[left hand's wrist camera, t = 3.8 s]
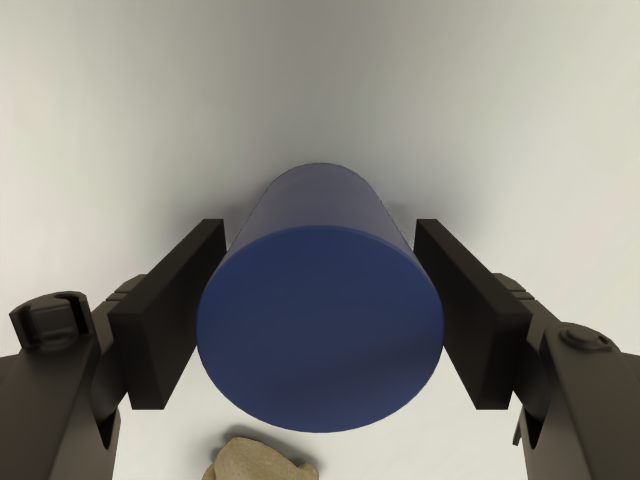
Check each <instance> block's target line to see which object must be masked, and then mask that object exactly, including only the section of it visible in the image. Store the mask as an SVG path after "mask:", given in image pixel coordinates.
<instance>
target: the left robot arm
mask: <svg viewBox="0 0 640 480" xmlns="http://www.w3.org/2000/svg"><path fill="white" fill-rule="evenodd" d="M226 253H227V250H226V241H225V231H224V222H223V219H203V220H202V221H201V222H200V223H199V224H198V225H197V226H196V227H195V228H194V229H193V230H192V231H191V232H190V233H189V234H188V235H187V236H186V237H185V238H184V239H183V240H182V241H181V242H180V243H179V244H178V245H177V246H176V247H175V248H174V249H173V250H172V251H171V252H170V253H169V254H168V255H167V256H165V257H164V258H163V259H162V260H161V261H160V262H159V263H158V264H157V265H156V266H155V267H154V268H153V269H152V270H151V271H150V272H149V273H148V274H140V275H138V276H136V277H134V278H132V279H130V280H128V281H126V282H124V283H123V284H122V285H121V286H120V287H119V288H118V289H117V290H116V291H114V293H112V294H111V295H110V296H109V297H108V298H107V299H106V301H103V302H102V303H101V304H100V305H99V306H98V307H97V308H96V309H95V310H93V311H92V312H91V311H90V308H89V304H88V301H87V297H86V295H84V294H83V293H81V292H75V291H65V292H56V293H52V294H47V295H43V296H40V297H37V298H35V299H32V300H29V301H27V302H25V303H23V304H22V305H20V306H18V307H16V308H15V309H14V310H13V311H12V312H11V313H9V316H10V319H11V321H12V324H13V326H14V329H15V332H16V334H17V337H18V339H19V342H20V344H21V347H22V349H21V350H20V352H19V354H16V355H11V356H6V357H0V480H112V476H113V470H114V463H115V456H116V450H117V443H118V437H119V430H120V424H121V418H120V413H119V409H118V405H119V403H120V402H121V400H122V399H123V397H124V396H125V394H126V393H127V392H128V395H129V399H130V403H131V407H132V410H164V408H165V406H166V404H167V402H168V400H169V398H170V396H171V394H172V392H173V390H174V388H175V386H176V384H177V382H178V381H179V379H180V377H181V375H182V373H183V371H184V369H185V367H186V365H187V363H188V361H189V359H190V357H191V355H192V353H193V351H194V349H195V348H196V346H197V343H196V337H195V321H196V314H197V308H198V305H199V302H200V298H201V295H202V293H203V291H204V289H205V287H206V285H207V283H208V281H209V280H210V278H211V277H212V275H213V273H214V272H215V270H216V269H217V267H218V266H219V264H220V262H221V261H222V259H223V258H224V256H225V255H226ZM413 253H414V254H415V256H416V258H417V259H418V261H419V262H420V264H421V265H422V267H423V269H424V270H425V272H426V273H427V275H428V277H429V278H430V280H431V282H432V283H433V285H434V287H435V289H436V291H437V293H438V296H439V299H440V301H441V304H442V308H443V314H444V319H445V336H444V343H443V346H444V347H445V349H446V351H447V353H448V355H449V357H450V359H451V361H452V363H453V365H454V367H455V369H456V371H457V373H458V375H459V377H460V379H461V381H462V382H463V384H464V386H465V388H466V390H467V392H468V394H469V396H470V398H471V400H472V402H473V404H474V406H475V408H476V410H508V407H509V403H510V399H511V395H512V392H513V391H514V392H515V394H516V395H517V397H518V398H519V400H520V401H521V403H522V404H523V406H522V409H521V413H520V416H519V420H518V423H517V427H516V430H515V434H514V437H513V445H516V446H518V443H519V440H520V438H521V437H522V442H523V449H524V455H525V462H526V469H527V475H528V480H640V356H638V355H633V354H628V353H622V352H621V351H620V350H619V348H618V347H617V346H616V345H615V344H614V342H613V341H612V340H611V339H609V338H607V337H606V336H604V335H603V334H601V333H600V332H597V331H595V330H593V329H590V328H588V327H585V326H582V325H578V324H574V323H568V322H561V321H560V320H559V319H557V318H556V317H555V316H554V315H553V314H552V313H551V312H550V311H549V310H547V309H546V308H545V307H544V306H543V305H542V304H541V303H540V302H538V301H537V300H535V298H534V297H533V296H532V295H531V294H530V293H528V292H526V290H525V289H524V288H523V287H522V286H521V285H520V284H518V283H517V282H516V281H515V280H513V279H511V278H509V277H507V276H505V275H503V274H501V273H491V272H490V271H489V270H488V269H487V268H486V267H485V266H484V265H483V264H482V263H481V262H480V261H479V260H478V259H477V258H476V257H475V256H473V255H472V254H471V253H470V252H469V251H468V250H467V249H466V248H465V247H464V246H463V245H462V244H461V243H460V242H459V241H458V240H457V239H456V238H455V237H454V236H453V235H452V234H451V233H450V232H449V231H448V230H447V229H446V228H445V227H444V226H443V225H442V224H441V223H440V222H439V221H438V220H437V219H417V222H416V232H415V241H414V250H413Z"/></svg>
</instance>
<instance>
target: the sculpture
mask: <svg viewBox="0 0 640 480" xmlns="http://www.w3.org/2000/svg"><path fill="white" fill-rule="evenodd" d="M202 480H319V473H318V471H317V469H316V468H315V467H314V466H313V465H311V464H308V463H304V464H302V465H300V466H299V467H298V468H297V467H296V466H295V465H294V464H293V463H292V462H290V461H289V460H288V459H286V458H285V457H283V456H282V455H281V454H279V453H278V452H277V451H275V450H274V449H272V448H271V447H269V446H267V445H266V444H264V443H261V442H258V441H254V440H250V439H247V438H241V437H235V438H232V439H231V440H230V441H229V442H228V443H227V444H226V445H225V446H224V447H223V448H222V449H221V450H220V452H219V453H218V455H217V458H216V460H215V462H214V463H213V464H211V465H210V466H209V468H208V469H207V470H206V472H205V474H204V475H203V478H202Z"/></svg>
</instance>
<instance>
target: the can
mask: <svg viewBox="0 0 640 480" xmlns="http://www.w3.org/2000/svg"><path fill="white" fill-rule="evenodd" d="M444 336H445V319H444V314H443V308H442V304H441V301H440V299H439V296H438V293H437V291H436V289H435V287H434V285H433V283H432V282H431V280H430V278H429V277H428V275H427V273H426V272H425V270H424V269H423V267H422V265H421V264H420V262H419V261H418V259H417V258H416V256H415V254H414V253H413V251H412V250H411V248H410V247H409V245H408V243H407V242H406V240H405V239H404V237H403V236H402V234H401V232H400V231H399V229H398V228H397V226H396V224H395V223H394V221H393V220H392V218H391V217H390V215H389V213H388V212H387V210H386V209H385V207H384V206H383V204H382V202H381V201H380V199H379V198H378V196H377V195H376V193H375V192H374V190H373V189H372V188H371V186H370V185H369V184H368V183H367V182H366V181H365V180H364V179H363V178H362V177H360V176H359V175H358V174H356V173H354V172H353V171H351V170H349V169H346V168H344V167H341V166H338V165H334V164H327V163H313V164H306V165H302V166H299V167H296V168H294V169H291V170H289V171H287V172H286V173H284V174H283V175H281V176H280V177H279V178H277V179H276V180H275V181H274V182H273V183H272V184H271V185H270V186H269V187H268V189H267V190H266V192H265V193H264V195H263V196H262V198H261V199H260V201H259V203H258V204H257V206H256V207H255V209H254V210H253V212H252V214H251V215H250V217H249V218H248V220H247V221H246V223H245V225H244V226H243V228H242V229H241V231H240V232H239V234H238V236H237V237H236V239H235V240H234V242H233V244H232V245H231V247H230V248H229V250H228V251H227V253H226V255H225V256H224V258H223V259H222V261H221V262H220V264H219V266H218V267H217V269H216V270H215V272H214V273H213V275H212V277H211V278H210V280H209V281H208V283H207V285H206V287H205V289H204V291H203V293H202V295H201V298H200V302H199V305H198V308H197V314H196V321H195V337H196V343H197V348H198V353H199V356H200V359H201V361H202V364H203V366H204V368H205V370H206V372H207V374H208V376H209V377H210V379H211V380H212V382H213V383H214V385H215V386H216V387H217V388H218V389H219V391H220V392H221V393H222V394H223V395H224V396H225V397H226V398H227V399H228V400H230V401H231V402H232V403H233V404H234V405H235V406H237V407H238V408H240V409H241V410H243V411H244V412H246V413H247V414H249V415H251V416H253V417H255V418H257V419H259V420H261V421H263V422H266V423H268V424H271V425H274V426H277V427H281V428H284V429H289V430H294V431H300V432H311V433H330V432H340V431H346V430H351V429H356V428H360V427H363V426H366V425H369V424H372V423H374V422H377V421H379V420H381V419H384V418H385V417H387V416H389V415H391V414H393V413H394V412H396V411H397V410H399V409H400V408H402V407H403V406H404V405H406V404H407V403H408V402H409V401H411V400H412V399H413V398H414V397H415V396H416V395H417V394H418V393H419V392H420V391H421V389H422V388H423V387H424V386H425V385H426V383H427V382H428V380H429V379H430V377H431V376H432V374H433V372H434V370H435V368H436V366H437V364H438V362H439V359H440V356H441V352H442V349H443V343H444Z"/></svg>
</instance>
